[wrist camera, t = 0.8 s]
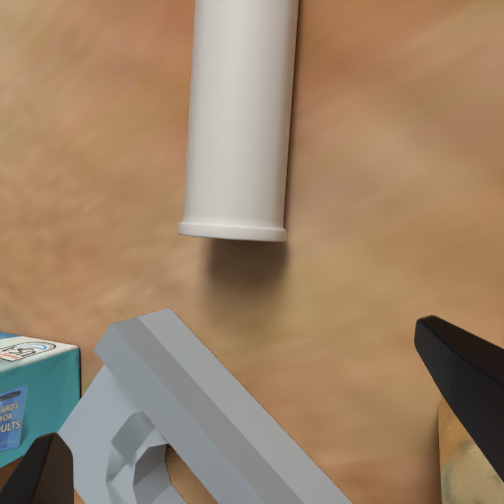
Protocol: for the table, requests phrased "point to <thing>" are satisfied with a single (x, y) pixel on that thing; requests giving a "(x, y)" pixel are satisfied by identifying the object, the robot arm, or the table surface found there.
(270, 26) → the tube
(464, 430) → the brass cylinder
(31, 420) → the game box
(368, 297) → the table surface
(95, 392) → the jig
